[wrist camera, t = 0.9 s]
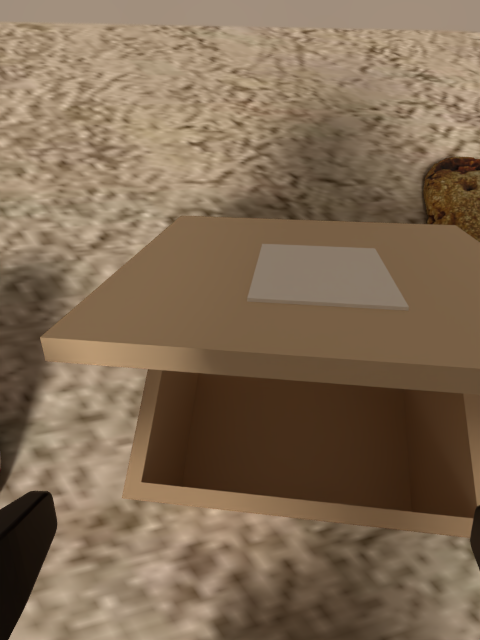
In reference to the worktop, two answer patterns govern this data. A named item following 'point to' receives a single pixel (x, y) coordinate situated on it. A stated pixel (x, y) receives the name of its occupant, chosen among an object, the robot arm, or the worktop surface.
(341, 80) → the worktop surface
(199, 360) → the lid flap
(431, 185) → the pastry
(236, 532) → the worktop surface
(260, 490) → the carton
